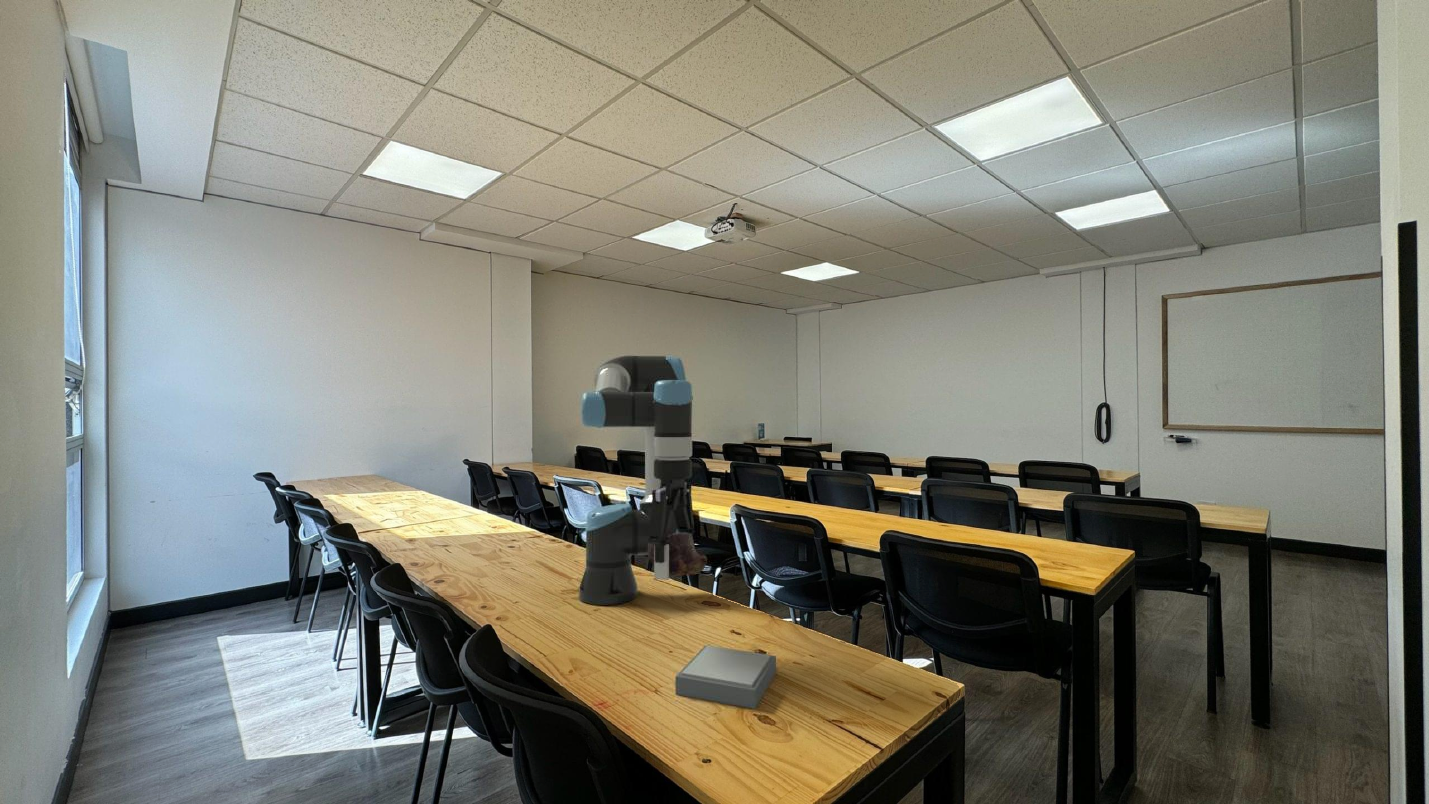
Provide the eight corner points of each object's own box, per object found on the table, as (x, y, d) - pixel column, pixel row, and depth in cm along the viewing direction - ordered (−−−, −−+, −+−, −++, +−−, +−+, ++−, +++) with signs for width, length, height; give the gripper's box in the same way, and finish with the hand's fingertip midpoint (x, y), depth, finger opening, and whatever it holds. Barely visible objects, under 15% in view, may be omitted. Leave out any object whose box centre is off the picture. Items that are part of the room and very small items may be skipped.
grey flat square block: (705, 661, 111) (705, 643, 111) (776, 672, 106) (776, 653, 106) (675, 694, 97) (675, 674, 97) (754, 709, 93) (754, 687, 93)
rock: (673, 571, 120) (635, 580, 113) (670, 530, 122) (632, 535, 114) (713, 573, 112) (675, 582, 105) (709, 529, 114) (671, 535, 106)
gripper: (678, 454, 125) (677, 557, 125) (629, 462, 105) (628, 585, 104) (710, 454, 123) (709, 560, 122) (666, 463, 102) (666, 590, 102)
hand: (672, 572), depth 113 cm, fingers closed on rock, 9 cm apart
